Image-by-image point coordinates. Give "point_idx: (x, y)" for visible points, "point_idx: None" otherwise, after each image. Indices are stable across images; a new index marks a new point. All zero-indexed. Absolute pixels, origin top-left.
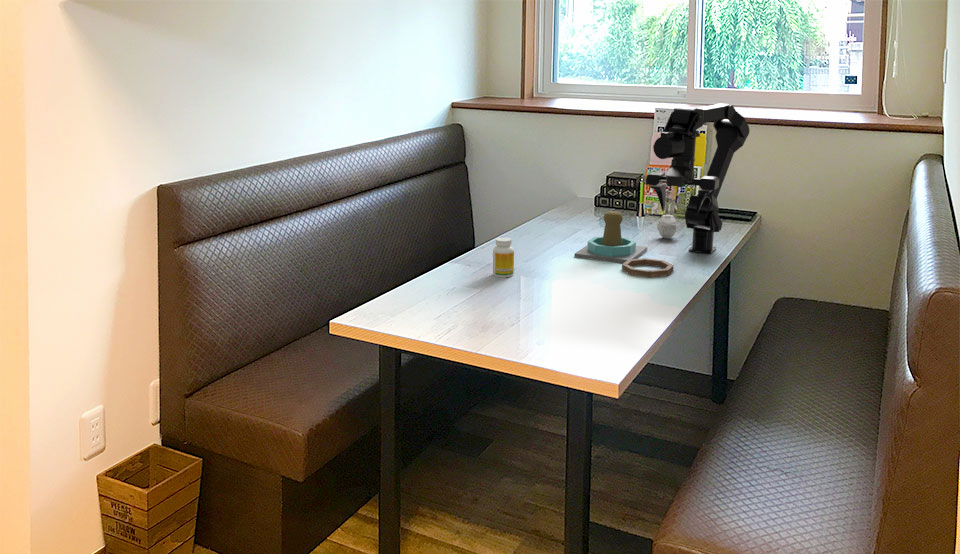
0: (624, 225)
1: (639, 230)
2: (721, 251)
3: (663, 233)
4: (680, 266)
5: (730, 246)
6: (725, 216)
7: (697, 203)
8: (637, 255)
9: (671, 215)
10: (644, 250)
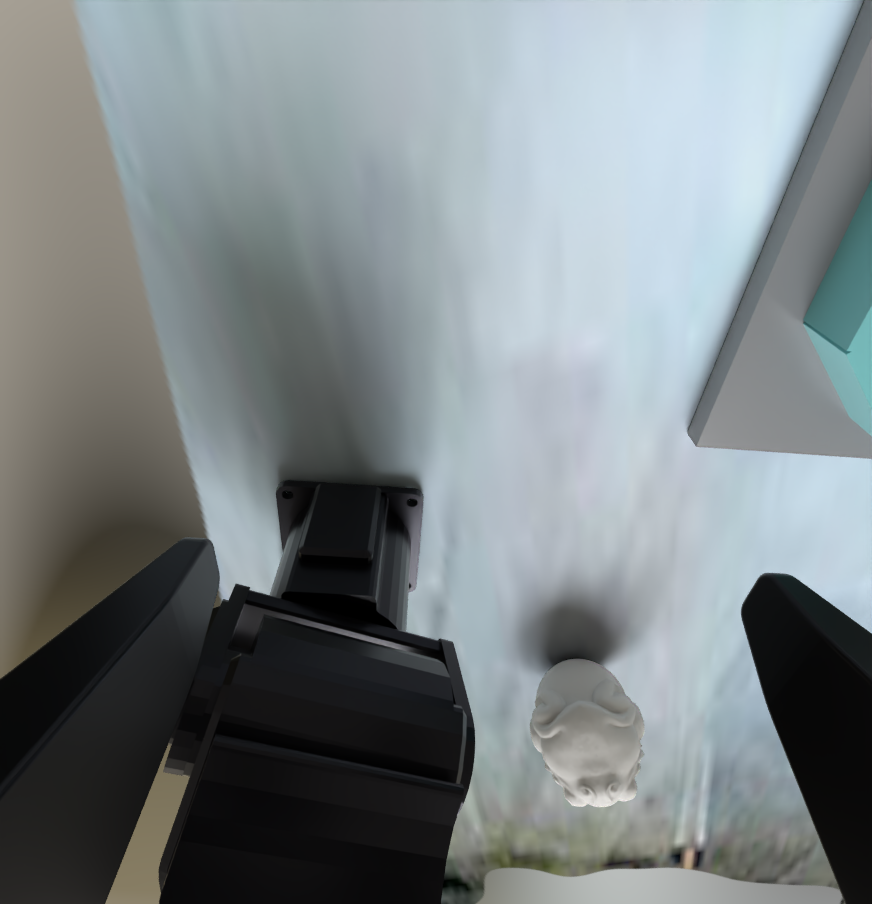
0: (768, 765)
1: (705, 728)
2: (247, 547)
3: (598, 673)
4: (389, 31)
5: None
6: None
7: (62, 699)
8: (802, 189)
9: (580, 804)
10: (718, 381)
